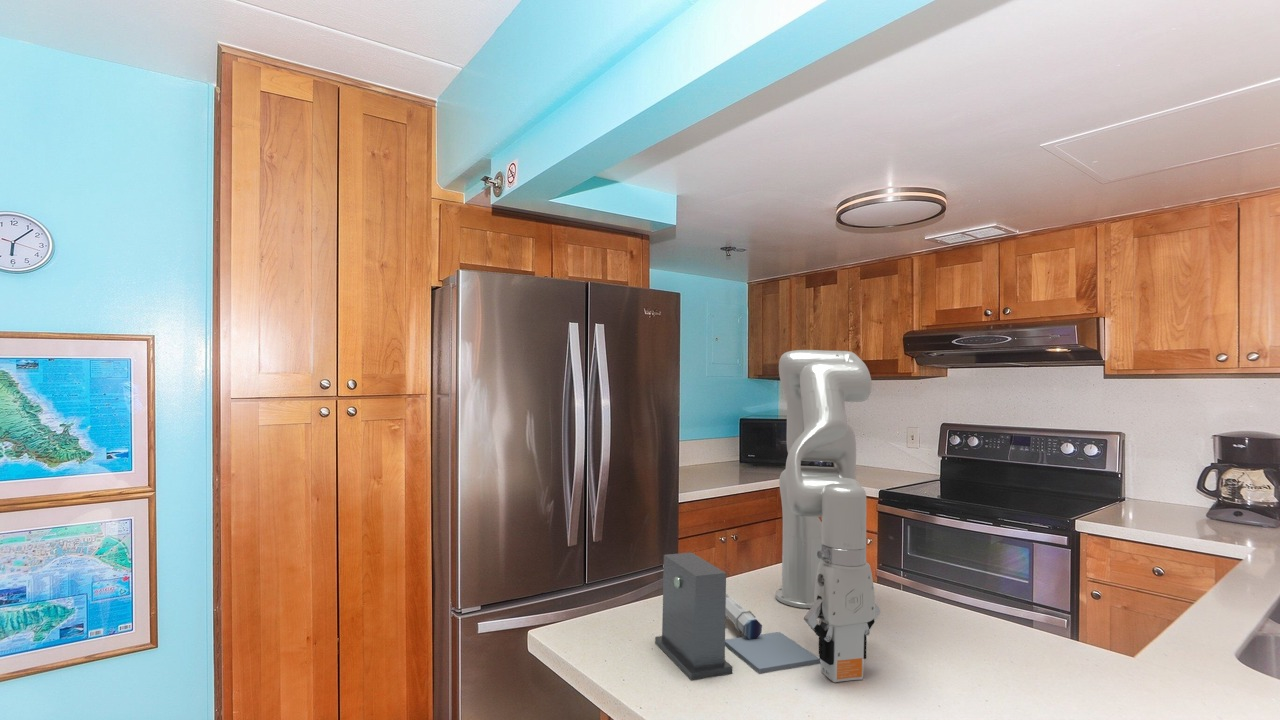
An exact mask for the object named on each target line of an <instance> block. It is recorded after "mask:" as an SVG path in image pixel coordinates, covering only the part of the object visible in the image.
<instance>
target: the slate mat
mask: <svg viewBox="0 0 1280 720" xmlns="http://www.w3.org/2000/svg"><path fill="white" fill-rule="evenodd" d="M725 648H728V650H729V651H731V652H732V653H733V654H735V656H737V657H738V658H739V659H741V660H742V661H743V662H744V663H746V664H747V665H748V666H749V667H750V668H752V669H753V670H754V671H755V672H757V673H758V674H764V673H765V674H766V673H770V672H777V671H782V670H788V669H794V668H800V667H804V666H805V667H806V666H810V665H817V664H821V659H820V658H819V656H817V655H816V654H814V653H812V652H811V651H809V650H808V649H807V648H805V647H803V646H802V645H801V644H799V643H797V642H796V641H795V640H793V639H791V638H789V637H788V636H787V635H785V634H784V633H782V632H781V631H776V632H770V633H768V632H767V633H761V634H760V635H759V636H758V637H757V639H750V640H749V639H748V638H747V637H746V636H740V637H733V638H727V639H726V638H725Z"/></svg>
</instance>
